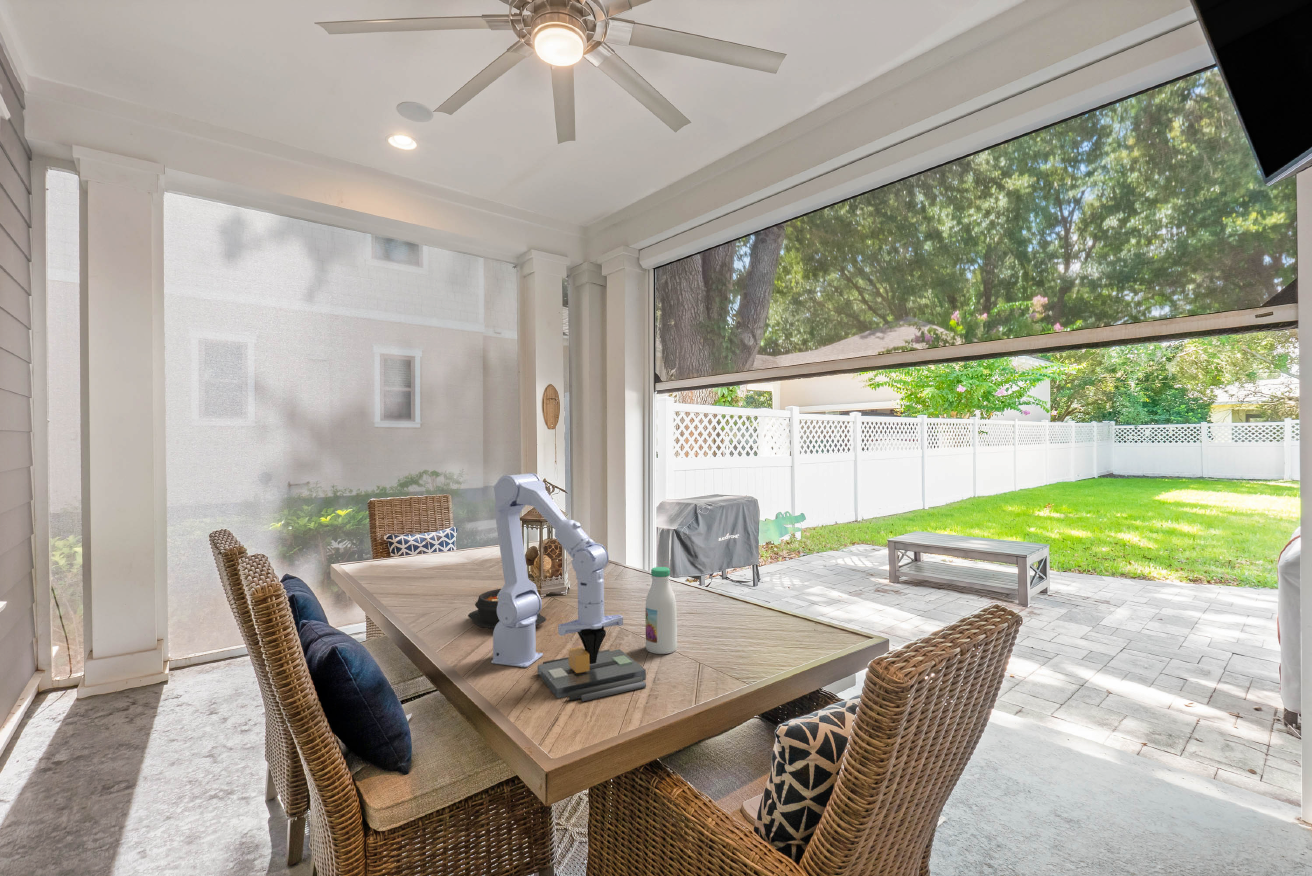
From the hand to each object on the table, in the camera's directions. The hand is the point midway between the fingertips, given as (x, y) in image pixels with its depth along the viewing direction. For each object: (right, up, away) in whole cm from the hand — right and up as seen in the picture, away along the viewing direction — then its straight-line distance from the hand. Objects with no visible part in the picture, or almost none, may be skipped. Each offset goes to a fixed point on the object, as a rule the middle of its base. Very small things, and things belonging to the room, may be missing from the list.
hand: (591, 662), depth 131 cm
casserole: (-28, -3, +37) cm, 47 cm away
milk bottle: (+15, -3, +16) cm, 22 cm away
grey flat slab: (0, -3, 0) cm, 3 cm away
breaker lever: (-3, -1, -1) cm, 3 cm away
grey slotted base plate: (0, -3, 0) cm, 3 cm away
